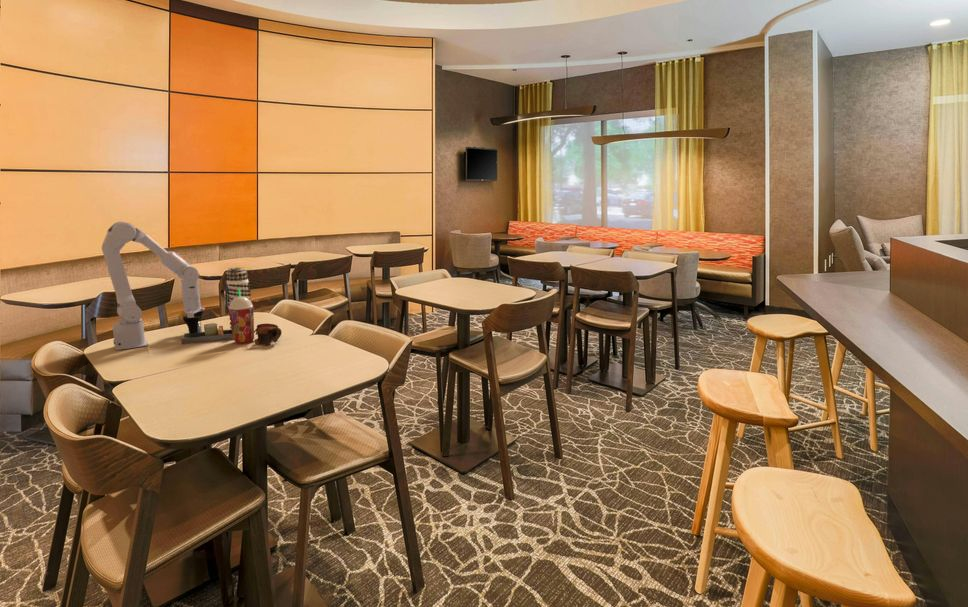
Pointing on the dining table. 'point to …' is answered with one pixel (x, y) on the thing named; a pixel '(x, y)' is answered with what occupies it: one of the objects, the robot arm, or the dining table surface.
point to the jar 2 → (211, 329)
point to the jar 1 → (199, 327)
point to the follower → (220, 330)
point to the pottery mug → (267, 334)
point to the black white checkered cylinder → (237, 284)
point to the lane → (206, 337)
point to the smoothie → (242, 319)
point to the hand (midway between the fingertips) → (195, 332)
